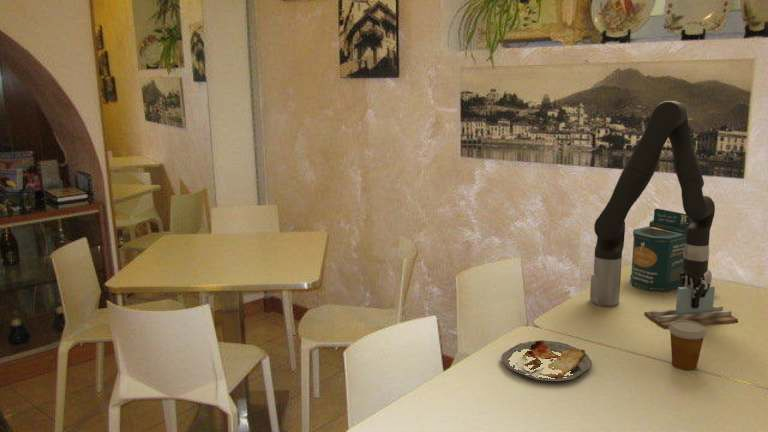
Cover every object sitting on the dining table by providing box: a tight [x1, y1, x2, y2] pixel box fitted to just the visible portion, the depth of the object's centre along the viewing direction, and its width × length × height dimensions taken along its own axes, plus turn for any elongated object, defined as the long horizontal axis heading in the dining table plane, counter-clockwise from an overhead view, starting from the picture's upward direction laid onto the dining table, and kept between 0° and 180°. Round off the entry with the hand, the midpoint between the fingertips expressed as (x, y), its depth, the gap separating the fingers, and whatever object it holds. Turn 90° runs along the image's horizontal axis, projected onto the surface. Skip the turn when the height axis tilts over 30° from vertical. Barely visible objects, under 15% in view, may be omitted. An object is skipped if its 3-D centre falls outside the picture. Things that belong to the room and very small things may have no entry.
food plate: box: [501, 339, 593, 382], centre depth 183 cm, size 25×23×4 cm
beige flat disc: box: [704, 268, 713, 285], centre depth 234 cm, size 10×4×10 cm, turn 137°
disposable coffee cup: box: [668, 320, 707, 371], centre depth 180 cm, size 10×10×12 cm
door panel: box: [675, 284, 716, 315], centre depth 212 cm, size 12×2×10 cm, turn 98°
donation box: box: [629, 208, 691, 293], centre depth 244 cm, size 16×16×28 cm
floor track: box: [643, 305, 739, 329], centre depth 213 cm, size 26×12×2 cm, turn 98°
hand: (692, 306), depth 213 cm, fingers open, 2 cm apart
